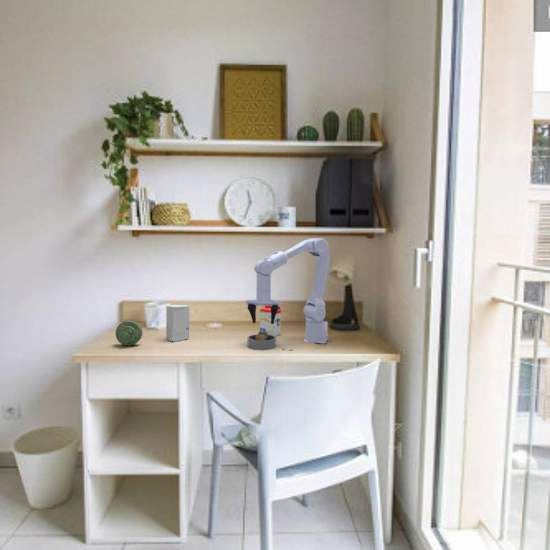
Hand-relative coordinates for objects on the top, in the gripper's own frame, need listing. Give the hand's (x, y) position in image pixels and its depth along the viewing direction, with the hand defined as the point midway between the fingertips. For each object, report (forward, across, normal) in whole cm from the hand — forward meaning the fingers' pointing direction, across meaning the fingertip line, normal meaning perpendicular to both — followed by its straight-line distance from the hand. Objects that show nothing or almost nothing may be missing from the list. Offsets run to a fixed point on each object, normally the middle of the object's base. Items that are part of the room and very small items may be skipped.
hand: (263, 323), depth 168 cm
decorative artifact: (+10, -52, -15) cm, 55 cm away
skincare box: (+10, -38, +1) cm, 39 cm away
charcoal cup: (+9, 0, -2) cm, 10 cm away
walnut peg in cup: (+9, 0, -4) cm, 10 cm away
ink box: (+10, -2, +21) cm, 23 cm away
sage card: (+9, +11, -5) cm, 15 cm away
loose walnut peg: (+9, 0, 0) cm, 9 cm away
